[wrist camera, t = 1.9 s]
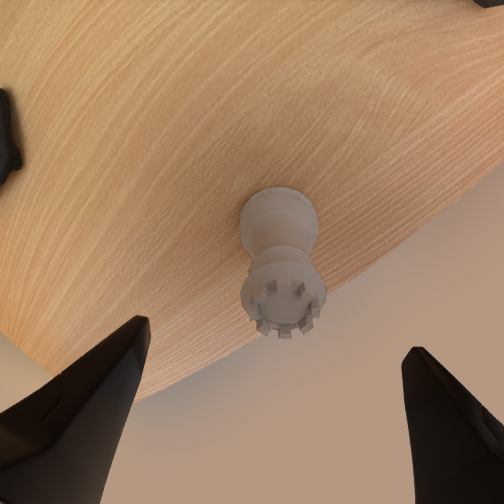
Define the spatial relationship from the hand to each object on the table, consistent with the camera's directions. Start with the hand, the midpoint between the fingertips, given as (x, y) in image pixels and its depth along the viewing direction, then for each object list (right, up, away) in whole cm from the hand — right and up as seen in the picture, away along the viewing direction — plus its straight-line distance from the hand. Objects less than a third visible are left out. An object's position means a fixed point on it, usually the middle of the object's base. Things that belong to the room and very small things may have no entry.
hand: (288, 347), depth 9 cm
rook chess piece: (0, +5, +8) cm, 10 cm away
